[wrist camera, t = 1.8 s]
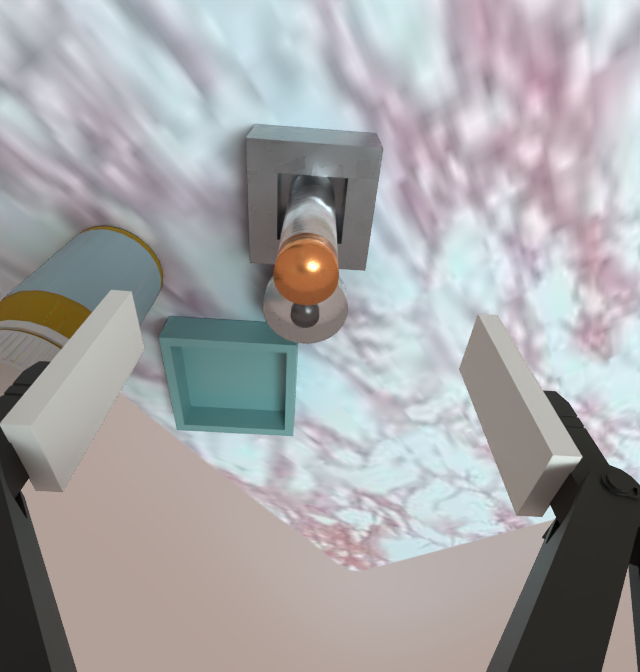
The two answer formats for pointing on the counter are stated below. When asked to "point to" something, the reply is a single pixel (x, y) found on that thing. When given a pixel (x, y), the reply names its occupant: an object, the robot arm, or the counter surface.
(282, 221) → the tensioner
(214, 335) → the tray
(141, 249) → the bottle
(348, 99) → the counter surface
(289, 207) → the pin
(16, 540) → the robot arm
